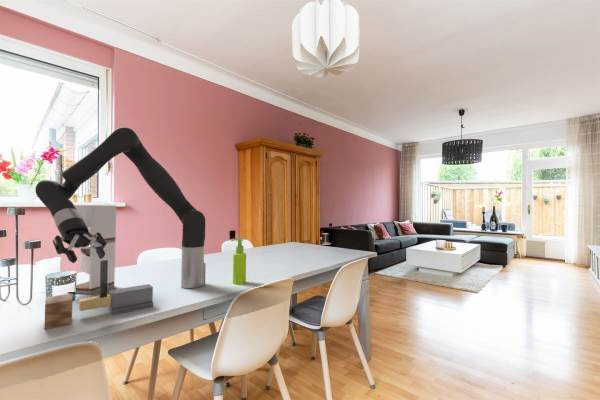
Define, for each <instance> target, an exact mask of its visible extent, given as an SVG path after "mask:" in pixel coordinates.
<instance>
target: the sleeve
mask: <svg viewBox="0 0 600 400" xmlns="http://www.w3.org/2000/svg"><path fill="white" fill-rule="evenodd" d="M153 289H154V288H153V286H152V285H151V284H150V283H147V284H141V285H135V286H130V287H129V286H128V287H121V288H115V289H110V290H109V294H111V295H112V301H111V306H108V310H109V312H110V314H111V316H115V315H118V314H125V313H128V312H134V311H140V310H144V309H148V308H149V309H150V308H153V307H154V302H153V299H154V298H153V296H154V295H153V294H154V293H153V292H154V290H153Z"/></svg>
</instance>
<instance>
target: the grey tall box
mask: <svg viewBox="0 0 600 400" xmlns="http://www.w3.org/2000/svg"><path fill="white" fill-rule="evenodd" d="M74 206H75V208H76V210H77V211H78V213H79V214H80V215H81V217H82V219H83V221H84V222H85V224H86V226H87V228H88V231H89V233H90V234H91V235H94V234H96V233H100V234H101V236H102V237H103V239H104V240H105V242H106V243H107V244H106V245H105V247H104V248H103V250H104V252H105V256H104V257H103V258H102V259H100V258H99V256H98V254H97V253H96V250H94V249H92V248H91V249H90V248H88V247H79V248H78V249H80V257H79V258H80V260H79V269H80V270H81V271H82V272H84V274H88V275H89V278H88V279H89V280H88V281H86V282H83V283H79V284H76V293H75V294H80V295H81V294H82V295H93V294H96V293H98V292H99V293H100V261H102V260H108V280H107V290H108V289H110V288H113V287H115V277H116V275H115V272H116V237H117V236H116V233H117V232H116V229H117V228H116V226H117V205H111V204H110V205H107V204H106V205H100V204H99V205H95V204H92V205H91V204H89V205H87V204H86V205H85V204H84V205H83V204H80V205H79V204H74ZM89 244H90V245H91V244H92V242H91V241H90V243H89ZM94 246H96V245H94ZM96 247H97V246H96ZM72 249H77V248H76V247H73V248H72Z"/></svg>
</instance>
